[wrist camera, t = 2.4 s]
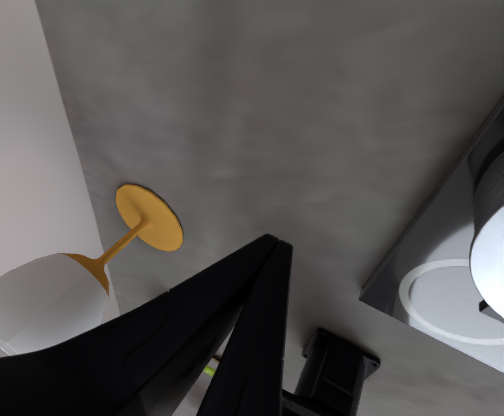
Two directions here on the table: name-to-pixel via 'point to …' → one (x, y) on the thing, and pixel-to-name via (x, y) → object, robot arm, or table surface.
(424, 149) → the table surface
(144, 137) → the table surface
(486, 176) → the steel pot
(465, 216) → the hob
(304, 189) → the table surface
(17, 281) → the cup
